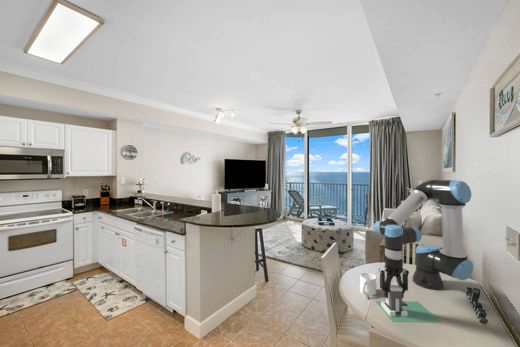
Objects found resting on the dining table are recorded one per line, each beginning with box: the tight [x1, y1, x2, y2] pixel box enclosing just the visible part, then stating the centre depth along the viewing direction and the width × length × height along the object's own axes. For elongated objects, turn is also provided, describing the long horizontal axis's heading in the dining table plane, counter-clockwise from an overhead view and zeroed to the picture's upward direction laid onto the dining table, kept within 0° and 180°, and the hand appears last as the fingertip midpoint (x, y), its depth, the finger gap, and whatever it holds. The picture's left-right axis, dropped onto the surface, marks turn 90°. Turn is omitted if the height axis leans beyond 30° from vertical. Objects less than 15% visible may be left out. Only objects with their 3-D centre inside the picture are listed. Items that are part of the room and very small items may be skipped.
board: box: [375, 298, 442, 323], centre depth 109 cm, size 22×16×3 cm
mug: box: [359, 272, 377, 298], centre depth 125 cm, size 12×8×10 cm
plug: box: [386, 282, 403, 312], centre depth 109 cm, size 5×6×11 cm
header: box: [380, 300, 408, 316], centre depth 109 cm, size 8×8×2 cm
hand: (393, 303), depth 109 cm, fingers closed on plug, 5 cm apart
